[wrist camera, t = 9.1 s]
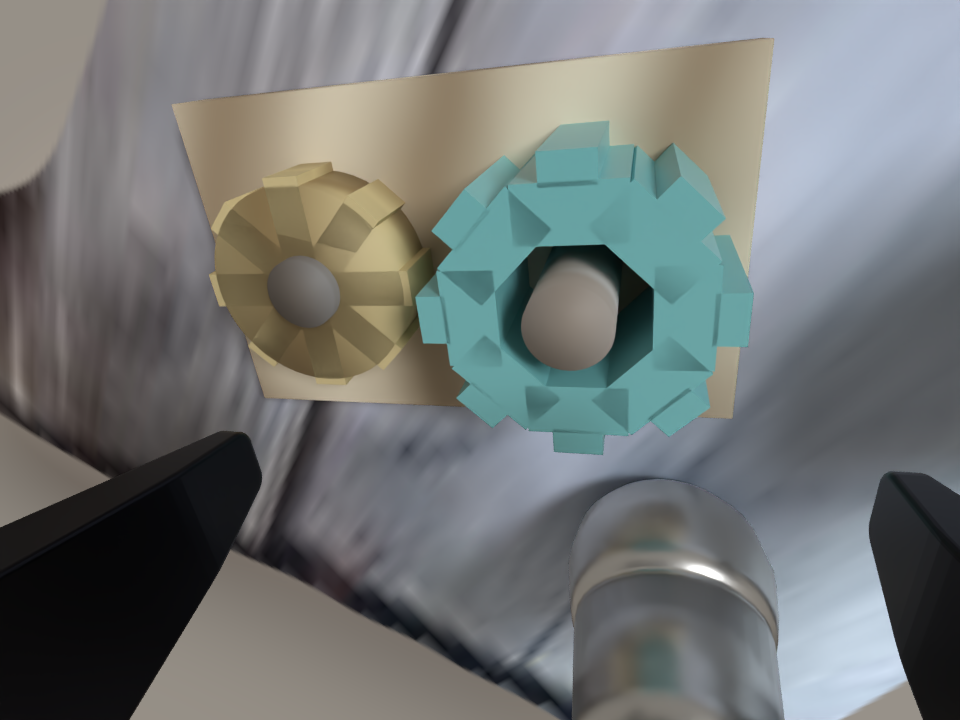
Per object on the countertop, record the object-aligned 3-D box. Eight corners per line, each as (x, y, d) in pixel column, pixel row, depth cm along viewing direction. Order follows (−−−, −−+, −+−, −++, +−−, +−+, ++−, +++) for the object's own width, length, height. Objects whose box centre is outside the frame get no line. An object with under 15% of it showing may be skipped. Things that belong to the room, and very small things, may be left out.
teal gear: (740, 108, 14) (771, 133, 10) (717, 376, 17) (735, 462, 14) (447, 134, 16) (392, 162, 12) (477, 371, 19) (440, 445, 16)
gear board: (763, 38, 14) (827, 40, 9) (726, 392, 19) (756, 525, 14) (204, 99, 18) (35, 124, 13) (286, 377, 23) (183, 475, 18)
